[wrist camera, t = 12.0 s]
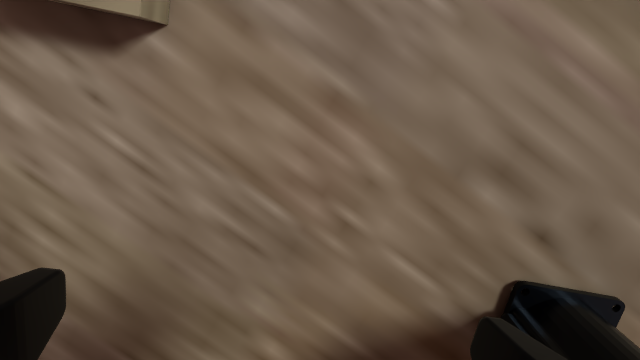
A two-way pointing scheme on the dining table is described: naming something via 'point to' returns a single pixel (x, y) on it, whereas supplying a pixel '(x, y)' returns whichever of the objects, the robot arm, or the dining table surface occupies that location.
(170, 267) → the dining table surface
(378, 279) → the dining table surface
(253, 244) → the dining table surface
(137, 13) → the socket block
